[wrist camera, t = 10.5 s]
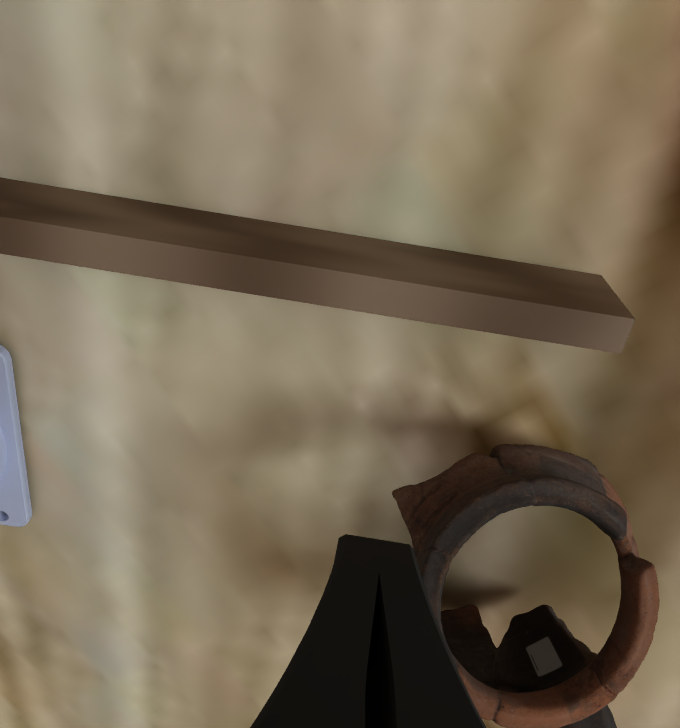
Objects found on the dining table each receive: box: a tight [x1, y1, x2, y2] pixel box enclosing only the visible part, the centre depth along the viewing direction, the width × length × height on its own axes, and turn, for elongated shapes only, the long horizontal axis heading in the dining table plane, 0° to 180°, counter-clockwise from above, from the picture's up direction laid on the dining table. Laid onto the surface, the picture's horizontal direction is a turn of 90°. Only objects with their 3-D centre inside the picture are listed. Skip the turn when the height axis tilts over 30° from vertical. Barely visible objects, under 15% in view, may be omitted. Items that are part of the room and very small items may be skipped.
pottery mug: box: [392, 444, 659, 728], centre depth 22 cm, size 12×9×8 cm
